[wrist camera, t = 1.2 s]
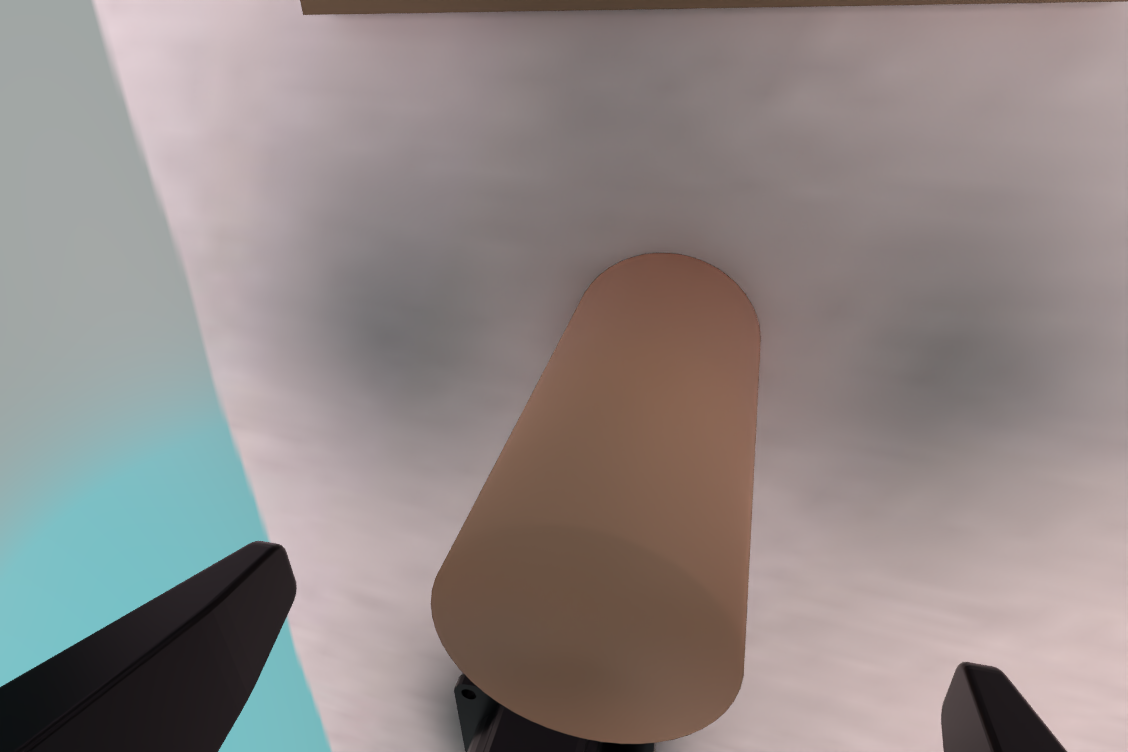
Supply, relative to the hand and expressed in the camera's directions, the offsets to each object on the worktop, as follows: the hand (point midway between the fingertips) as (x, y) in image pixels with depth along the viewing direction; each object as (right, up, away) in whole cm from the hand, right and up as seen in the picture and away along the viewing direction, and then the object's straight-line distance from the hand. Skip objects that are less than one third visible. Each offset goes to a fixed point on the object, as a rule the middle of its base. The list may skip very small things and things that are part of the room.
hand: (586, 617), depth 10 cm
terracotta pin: (+2, +4, +6) cm, 8 cm away
